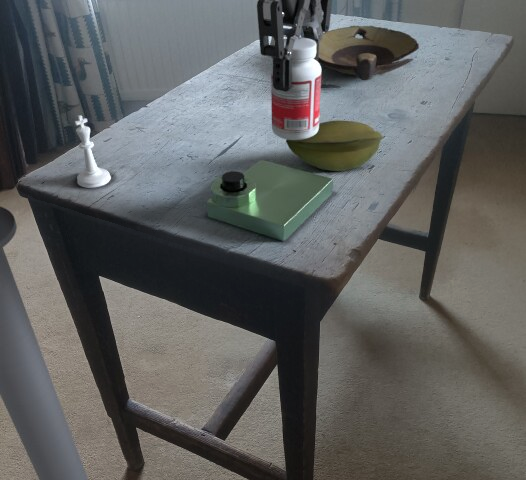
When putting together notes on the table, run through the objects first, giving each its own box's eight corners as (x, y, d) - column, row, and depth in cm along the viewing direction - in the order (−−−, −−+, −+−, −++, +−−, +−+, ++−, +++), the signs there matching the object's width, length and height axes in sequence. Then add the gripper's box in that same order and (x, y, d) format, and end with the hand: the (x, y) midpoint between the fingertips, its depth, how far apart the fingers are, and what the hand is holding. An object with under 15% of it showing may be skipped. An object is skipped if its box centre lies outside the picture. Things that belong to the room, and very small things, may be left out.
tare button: (236, 195, 77) (236, 183, 76) (218, 190, 78) (217, 178, 77) (249, 186, 79) (248, 174, 78) (230, 180, 80) (229, 169, 79)
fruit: (354, 187, 85) (358, 144, 81) (283, 168, 90) (283, 127, 86) (385, 156, 93) (390, 115, 89) (318, 140, 98) (319, 101, 94)
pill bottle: (298, 118, 80) (300, 32, 73) (328, 132, 76) (333, 43, 69) (262, 130, 77) (260, 41, 70) (291, 146, 73) (293, 54, 66)
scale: (283, 241, 75) (284, 214, 72) (204, 215, 80) (202, 189, 78) (332, 193, 84) (334, 168, 82) (258, 173, 89) (258, 148, 87)
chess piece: (117, 179, 88) (104, 115, 82) (88, 191, 86) (72, 126, 79) (99, 169, 91) (86, 106, 85) (71, 179, 89) (55, 115, 82)
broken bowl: (427, 57, 129) (433, 19, 124) (386, 105, 108) (391, 63, 104) (332, 44, 137) (334, 9, 132) (277, 87, 116) (277, 47, 111)
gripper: (300, -90, 68) (297, 59, 79) (231, -72, 59) (238, 94, 69) (360, -86, 65) (348, 68, 76) (297, -67, 56) (294, 106, 66)
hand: (295, 80), depth 72 cm, fingers closed on pill bottle, 6 cm apart
